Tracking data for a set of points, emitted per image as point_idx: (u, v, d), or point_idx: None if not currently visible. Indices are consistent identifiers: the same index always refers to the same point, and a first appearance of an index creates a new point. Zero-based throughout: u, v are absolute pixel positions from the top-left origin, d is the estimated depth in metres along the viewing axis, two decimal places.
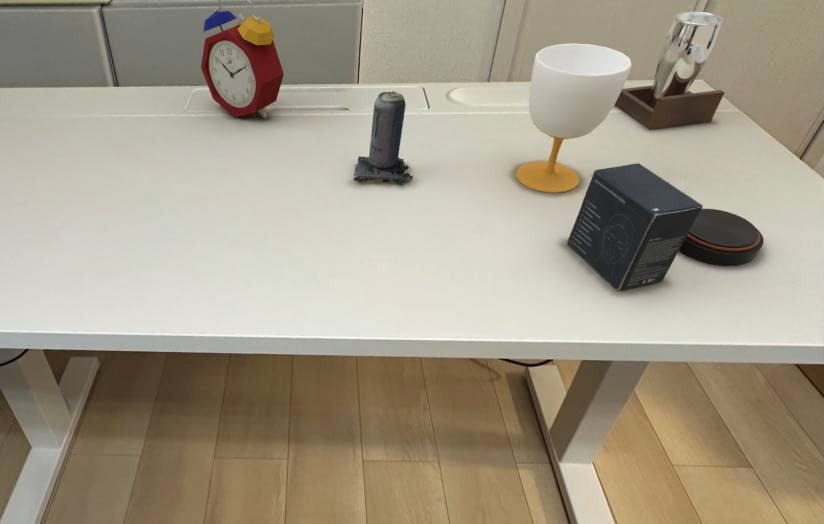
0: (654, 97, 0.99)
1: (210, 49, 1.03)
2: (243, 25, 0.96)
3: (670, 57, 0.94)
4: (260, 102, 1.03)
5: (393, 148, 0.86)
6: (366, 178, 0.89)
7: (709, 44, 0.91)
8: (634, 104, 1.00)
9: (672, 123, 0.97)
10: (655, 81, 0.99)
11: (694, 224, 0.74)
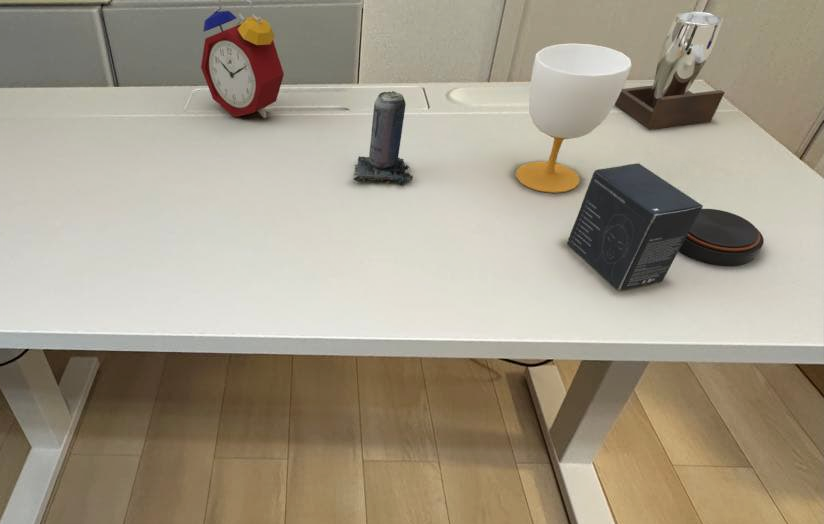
0: (654, 97, 0.99)
1: (210, 49, 1.03)
2: (243, 25, 0.96)
3: (670, 57, 0.94)
4: (260, 102, 1.03)
5: (393, 148, 0.86)
6: (366, 178, 0.89)
7: (709, 44, 0.91)
8: (634, 104, 1.00)
9: (672, 123, 0.97)
10: (655, 81, 0.99)
11: (694, 224, 0.74)
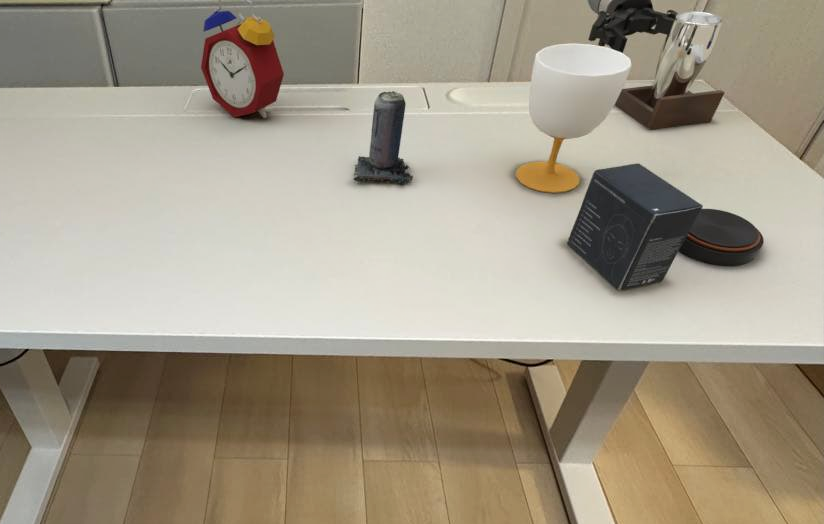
0: (654, 97, 0.99)
1: (210, 49, 1.03)
2: (243, 25, 0.96)
3: (670, 57, 0.94)
4: (260, 102, 1.03)
5: (393, 148, 0.86)
6: (366, 178, 0.89)
7: (709, 44, 0.91)
8: (634, 104, 1.00)
9: (672, 123, 0.97)
10: (655, 81, 0.99)
11: (694, 224, 0.74)
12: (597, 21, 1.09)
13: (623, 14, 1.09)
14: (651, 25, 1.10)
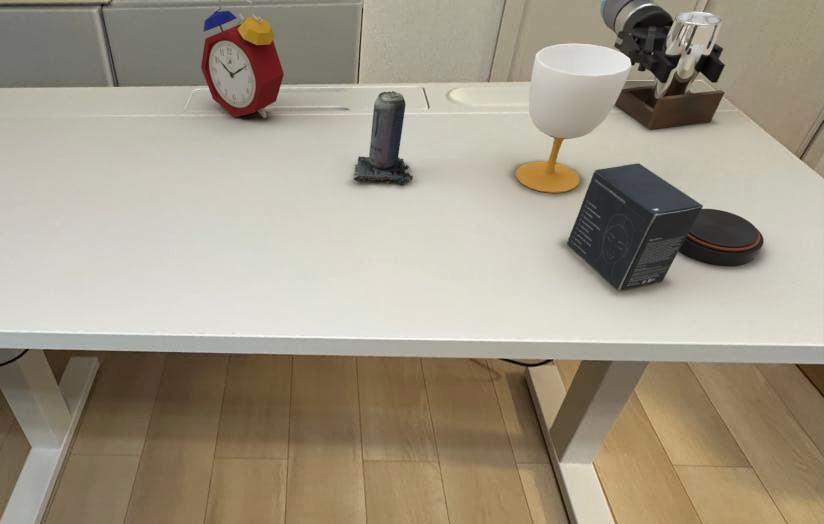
0: (654, 97, 0.99)
1: (210, 49, 1.03)
2: (243, 25, 0.96)
3: (670, 57, 0.94)
4: (260, 102, 1.03)
5: (393, 148, 0.86)
6: (366, 178, 0.89)
7: (709, 44, 0.91)
8: (634, 104, 1.00)
9: (672, 123, 0.97)
10: (655, 81, 0.99)
11: (694, 224, 0.74)
12: (631, 44, 1.00)
13: (649, 34, 1.01)
14: None
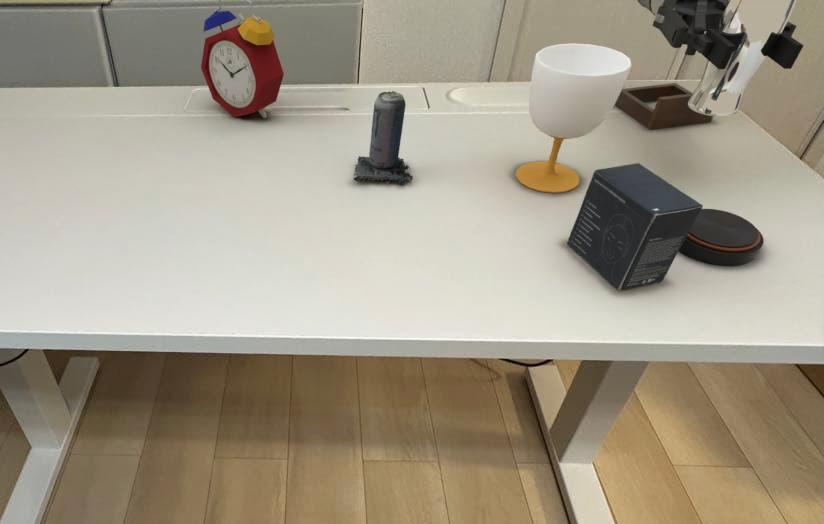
0: (705, 87, 0.78)
1: (210, 49, 1.03)
2: (243, 25, 0.96)
3: (730, 36, 0.73)
4: (260, 102, 1.03)
5: (393, 148, 0.86)
6: (366, 178, 0.89)
7: (783, 18, 0.70)
8: (634, 104, 1.00)
9: (672, 123, 0.97)
10: (707, 68, 0.78)
11: (694, 224, 0.74)
12: (676, 20, 0.79)
13: (699, 9, 0.80)
14: None
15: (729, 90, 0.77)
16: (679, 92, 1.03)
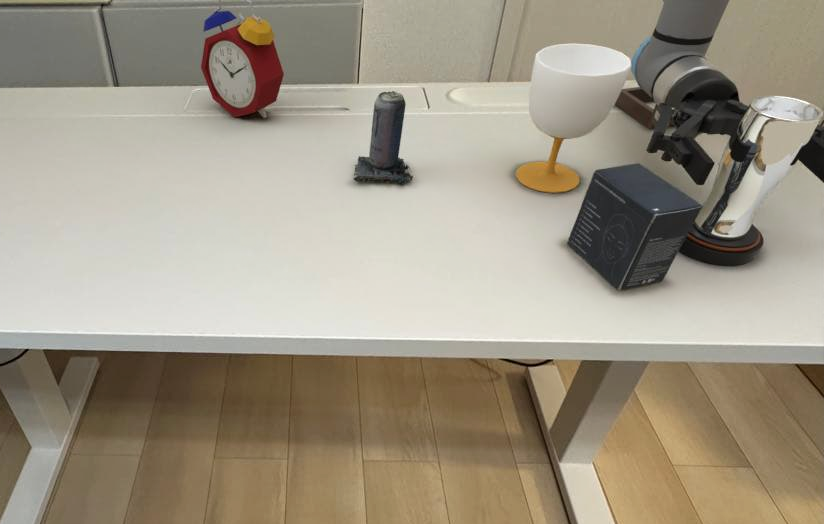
0: (713, 209, 0.71)
1: (210, 49, 1.03)
2: (243, 25, 0.96)
3: (741, 161, 0.65)
4: (260, 102, 1.03)
5: (393, 148, 0.86)
6: (366, 178, 0.89)
7: (801, 146, 0.63)
8: (634, 104, 1.00)
9: None
10: (715, 188, 0.70)
11: None
12: (660, 123, 0.72)
13: (698, 111, 0.73)
14: None
15: (740, 214, 0.69)
16: None
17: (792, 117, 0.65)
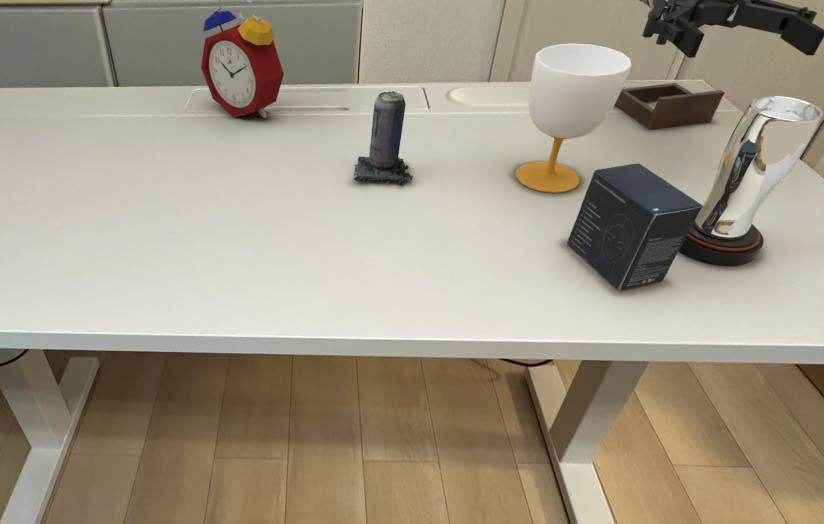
0: (713, 209, 0.71)
1: (210, 49, 1.03)
2: (243, 25, 0.96)
3: (741, 161, 0.65)
4: (260, 102, 1.03)
5: (393, 148, 0.86)
6: (366, 178, 0.89)
7: (801, 146, 0.63)
8: (634, 104, 1.00)
9: (672, 123, 0.97)
10: (715, 188, 0.70)
11: None
12: (654, 10, 0.78)
13: (690, 0, 0.79)
14: (728, 15, 0.80)
15: (740, 214, 0.69)
16: (679, 92, 1.03)
17: (792, 117, 0.65)
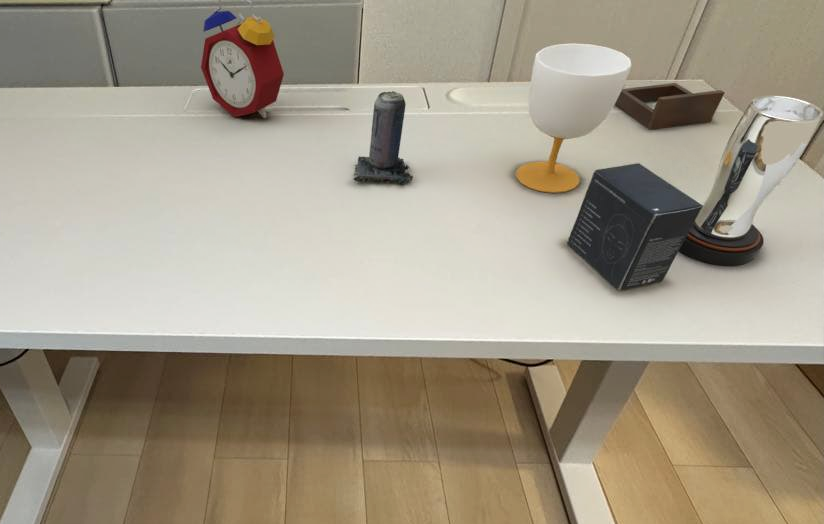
0: (713, 209, 0.71)
1: (210, 49, 1.03)
2: (243, 25, 0.96)
3: (741, 161, 0.65)
4: (260, 102, 1.03)
5: (393, 148, 0.86)
6: (366, 178, 0.89)
7: (801, 146, 0.63)
8: (634, 104, 1.00)
9: (672, 123, 0.97)
10: (715, 188, 0.70)
11: None
12: None
13: None
14: None
15: (740, 214, 0.69)
16: (679, 92, 1.03)
17: (792, 117, 0.65)
